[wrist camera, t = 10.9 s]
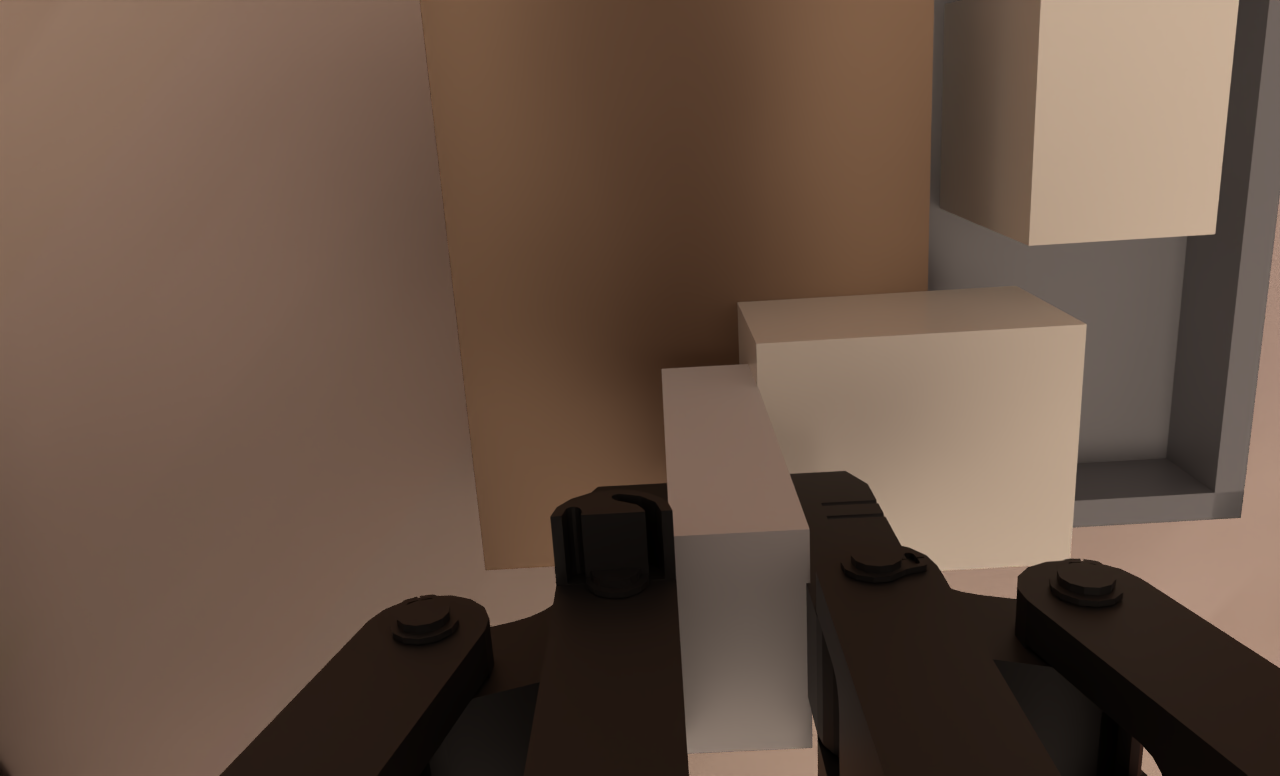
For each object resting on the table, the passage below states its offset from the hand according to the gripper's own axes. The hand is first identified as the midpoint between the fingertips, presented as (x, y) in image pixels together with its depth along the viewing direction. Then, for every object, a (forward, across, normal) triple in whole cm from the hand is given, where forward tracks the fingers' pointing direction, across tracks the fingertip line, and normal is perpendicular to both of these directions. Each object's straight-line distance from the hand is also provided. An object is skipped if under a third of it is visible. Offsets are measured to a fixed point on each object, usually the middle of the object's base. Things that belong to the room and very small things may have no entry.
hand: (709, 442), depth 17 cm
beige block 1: (+2, +3, 0) cm, 4 cm away
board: (+6, 0, +2) cm, 6 cm away
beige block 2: (+3, +5, +5) cm, 8 cm away
